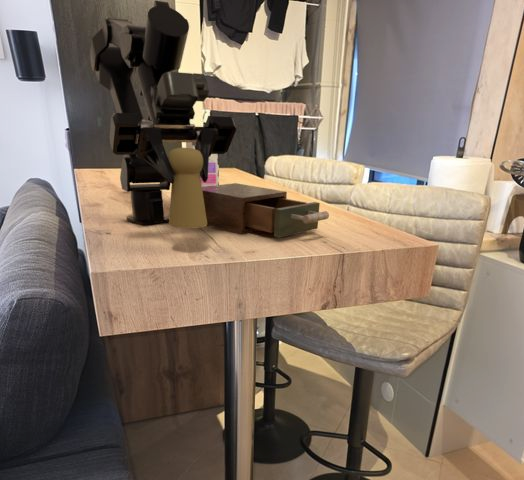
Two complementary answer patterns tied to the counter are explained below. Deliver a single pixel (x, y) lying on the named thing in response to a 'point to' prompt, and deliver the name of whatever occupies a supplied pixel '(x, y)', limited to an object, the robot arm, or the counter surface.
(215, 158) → the candy box
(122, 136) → the robot arm
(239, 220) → the cabinet
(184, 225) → the cork
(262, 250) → the counter surface
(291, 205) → the drawer
